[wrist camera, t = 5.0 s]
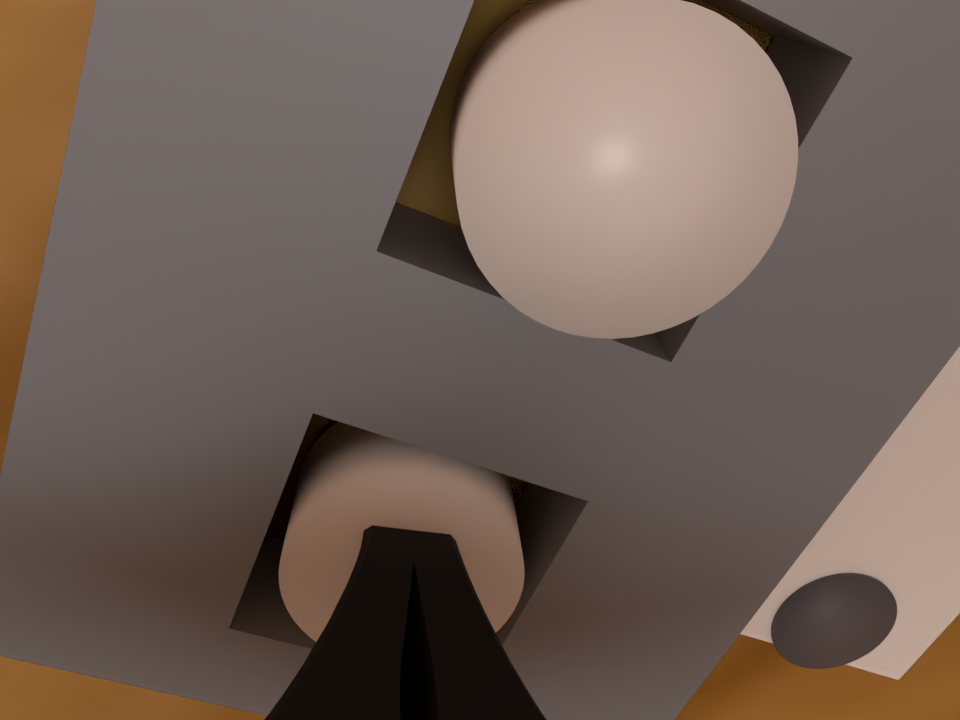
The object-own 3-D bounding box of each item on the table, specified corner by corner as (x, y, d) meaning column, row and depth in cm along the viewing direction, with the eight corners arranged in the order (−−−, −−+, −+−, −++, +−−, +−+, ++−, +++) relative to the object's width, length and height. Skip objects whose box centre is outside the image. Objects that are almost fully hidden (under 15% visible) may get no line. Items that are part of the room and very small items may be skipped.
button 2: (784, 61, 11) (867, 88, 9) (644, 307, 12) (688, 379, 10) (522, -71, 10) (547, -73, 8) (407, 214, 11) (404, 273, 9)
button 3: (545, 443, 14) (565, 523, 12) (462, 595, 16) (467, 689, 14) (338, 373, 13) (323, 448, 11) (271, 543, 15) (248, 635, 13)
